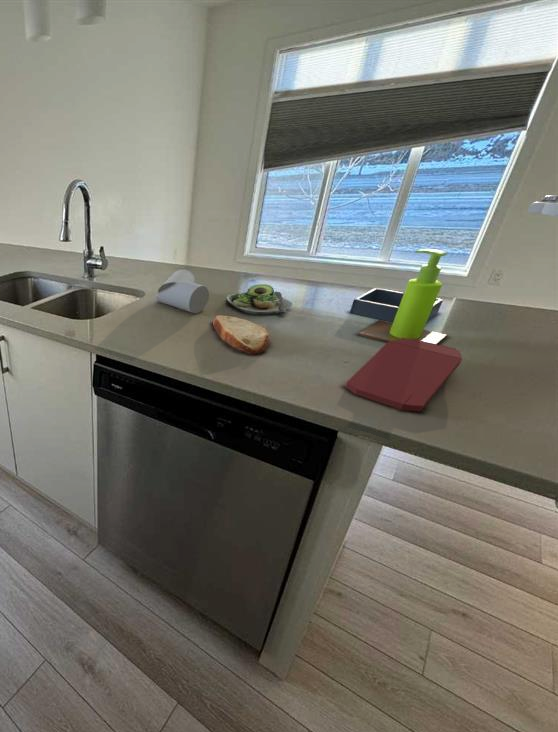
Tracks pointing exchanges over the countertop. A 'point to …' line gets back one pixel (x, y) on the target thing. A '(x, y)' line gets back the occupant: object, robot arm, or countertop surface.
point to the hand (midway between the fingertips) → (536, 203)
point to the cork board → (382, 333)
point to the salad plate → (259, 301)
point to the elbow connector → (183, 292)
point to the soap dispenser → (418, 298)
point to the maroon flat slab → (405, 373)
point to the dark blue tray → (383, 304)
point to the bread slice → (242, 334)
